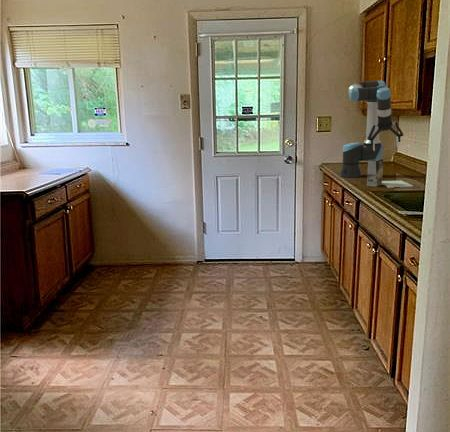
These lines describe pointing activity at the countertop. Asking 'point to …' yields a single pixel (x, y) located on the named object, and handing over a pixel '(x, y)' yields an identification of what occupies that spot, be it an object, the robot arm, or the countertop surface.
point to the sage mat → (395, 184)
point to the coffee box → (375, 172)
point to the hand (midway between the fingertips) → (385, 148)
